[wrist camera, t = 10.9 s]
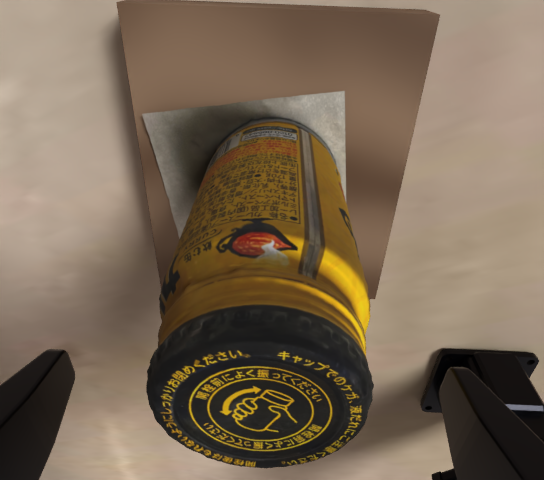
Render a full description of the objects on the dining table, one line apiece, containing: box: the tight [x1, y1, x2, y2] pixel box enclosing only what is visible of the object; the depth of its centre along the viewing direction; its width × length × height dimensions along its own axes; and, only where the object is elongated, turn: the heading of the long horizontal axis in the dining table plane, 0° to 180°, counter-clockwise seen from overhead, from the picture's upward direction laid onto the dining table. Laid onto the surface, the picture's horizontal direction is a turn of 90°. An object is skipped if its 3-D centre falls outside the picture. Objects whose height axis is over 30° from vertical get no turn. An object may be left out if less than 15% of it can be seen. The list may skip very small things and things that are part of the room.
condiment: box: [142, 91, 374, 468], centre depth 14 cm, size 7×8×12 cm
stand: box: [117, 0, 440, 299], centre depth 20 cm, size 14×12×2 cm
